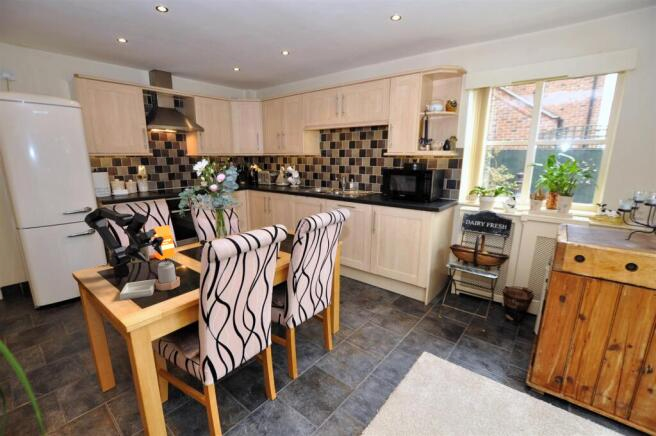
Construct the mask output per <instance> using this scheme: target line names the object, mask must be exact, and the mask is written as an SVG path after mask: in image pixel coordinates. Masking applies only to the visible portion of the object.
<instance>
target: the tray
mask: <svg viewBox="0 0 656 436" xmlns="http://www.w3.org/2000/svg"><path fill="white" fill-rule="evenodd" d="M156 280H157V279H155V278H154V279H146V280H141V281H134V282H133V281H132V282H126V284H125V285H124V287H123V288H122V290H121V292H120V293H119V299H120V301H125V300H132V299H138V298H146V297H152V296H153V294H154V292H155V291H156V286H155V282H156Z"/></svg>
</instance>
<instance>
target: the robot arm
mask: <svg viewBox="0 0 656 436" xmlns="http://www.w3.org/2000/svg"><path fill="white" fill-rule="evenodd" d="M107 220H110V221H113V222H115V223H114V224H115V225H116V226H117V227H120V228H124V227H126V228H124V232H123V234H124V235H127V234H128V237H129V236H130V237H131V239H132V242H135V244H131V245H130V244H129V245H127V246H126V245H124V246H122V245H121V244H120V243H119V242H118V240H117V239H116V237H114V235H113V233H112V232H111V231H110V229H109V227H108V226H107ZM148 221H149V219H148V216H147V215H144V214H142V213H140V212H134V214H132V213H121V212H118V211H115V210H113V209H110V208H108V207H107V206H106V207H105V206H103V207H102V206H101V207H98V208H97V207H96V208H95V209H94V210H93V211H91V212H89V213H88V214H86V215H85V217H84V223H85V224H86V225H87V226H88V227H89V228H90V229H93V230H95V231H96V232H97V234H98V235H99V237H100V238H101V239H102V240H103V242H104V243H105V244H106V246H107V248H108V249H109V250H110V258H111V259H110V261H109V262H108V264H109V267H112V268H113V273H114V276H113V278H114V279H117V278H124V277H128V276H130V274H131V265H129V263H130V264H131V263H132V257H135V258H138V259H140V260H142V261H144V262H143V263H147V262H148V261H147V260H146V258H145V257H144V255H143V254H142V253H141V251H140V249H141V248H144V247H148V248H149V247H153V250H154V251H155V250H156V251H157V252H158V253H159V254H160V255H161V256H163V251H162V247H161V244H162V242H163V241H164V238H163V237H162V236H159V237H156V238H154V239H153V237H154V236H155V235H156V234H157V233H156V231H155V230H154V228H151V229H149V230H148V231H144V232H143V230H142V229H143V228H144V227H145V225H146V223H147V222H148ZM151 240H152V241H151Z"/></svg>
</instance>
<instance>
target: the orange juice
mask: <svg viewBox="0 0 656 436" xmlns="http://www.w3.org/2000/svg"><path fill="white" fill-rule="evenodd" d="M153 229H154V230H155V231H156V233H157V234H156V235H155V236H154V237H152V240H153V239H154V238H156V237H159V236H162V237H163V238H164V241H163V242H162V244H161V247H162V251H163V256H161V255H160V254H159V253H158V252H157V251H156V250H155V249H154V254H155V258H157V259H158V260H160V261H162V260H166V259H168V258H169V257H170V258H173V257H172V256H174V257H175V246H174V238H173V232H172V231H171V228H170V226H169V224H168V225H162V226H156V227H154V228H153ZM165 258H166V259H165Z"/></svg>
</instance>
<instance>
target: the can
mask: <svg viewBox="0 0 656 436" xmlns="http://www.w3.org/2000/svg"><path fill="white" fill-rule="evenodd" d="M156 270H157V274H158V275H157V276H158V277H157V278H158V279H159V283H161V284H166V283H171V282H174V281H176V276H177V275H176V270H175V264H174V263H173V262H172V261H171V260H170V261H169V260H168V261H167V260H166V261H162V262H159V263H158V266H157V269H156Z"/></svg>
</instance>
